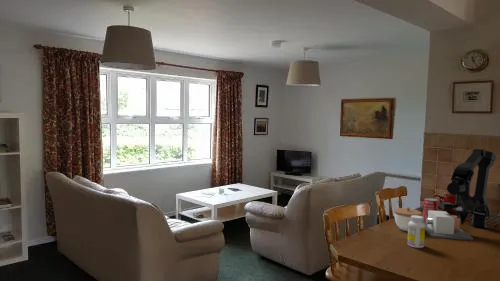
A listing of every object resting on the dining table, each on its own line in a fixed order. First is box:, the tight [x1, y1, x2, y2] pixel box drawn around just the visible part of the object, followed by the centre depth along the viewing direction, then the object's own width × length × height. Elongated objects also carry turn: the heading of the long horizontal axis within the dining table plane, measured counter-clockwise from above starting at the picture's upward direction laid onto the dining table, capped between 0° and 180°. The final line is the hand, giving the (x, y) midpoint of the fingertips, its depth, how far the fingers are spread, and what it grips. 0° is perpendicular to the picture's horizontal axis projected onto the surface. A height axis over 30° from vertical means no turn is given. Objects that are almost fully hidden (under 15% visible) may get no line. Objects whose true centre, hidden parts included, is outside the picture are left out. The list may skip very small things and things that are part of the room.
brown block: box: [426, 214, 461, 230], centre depth 179 cm, size 5×14×6 cm, turn 81°
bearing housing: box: [424, 210, 474, 241], centre depth 178 cm, size 20×18×9 cm
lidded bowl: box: [394, 206, 423, 232], centre depth 182 cm, size 13×13×11 cm
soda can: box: [422, 197, 439, 224], centre depth 193 cm, size 7×7×13 cm
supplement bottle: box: [407, 215, 426, 249], centre depth 158 cm, size 7×7×13 cm
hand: (461, 224), depth 177 cm, fingers closed
